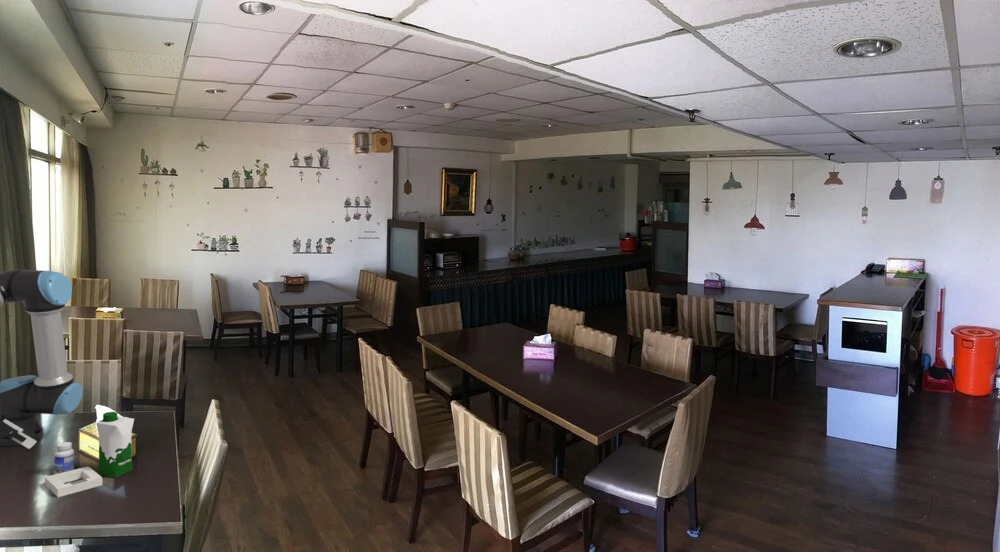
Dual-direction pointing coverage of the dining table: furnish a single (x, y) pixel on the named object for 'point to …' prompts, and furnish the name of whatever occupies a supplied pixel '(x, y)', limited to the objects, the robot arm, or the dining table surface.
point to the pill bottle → (63, 458)
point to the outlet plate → (61, 489)
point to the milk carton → (114, 445)
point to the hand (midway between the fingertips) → (26, 439)
